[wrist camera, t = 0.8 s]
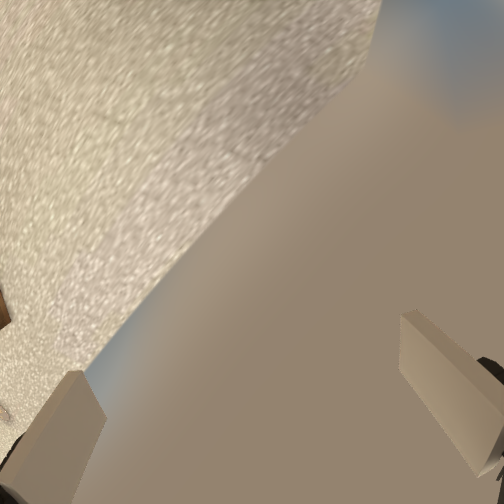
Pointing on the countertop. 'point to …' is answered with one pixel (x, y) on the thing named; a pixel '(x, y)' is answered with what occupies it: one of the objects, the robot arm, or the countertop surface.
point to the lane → (3, 313)
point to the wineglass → (3, 414)
